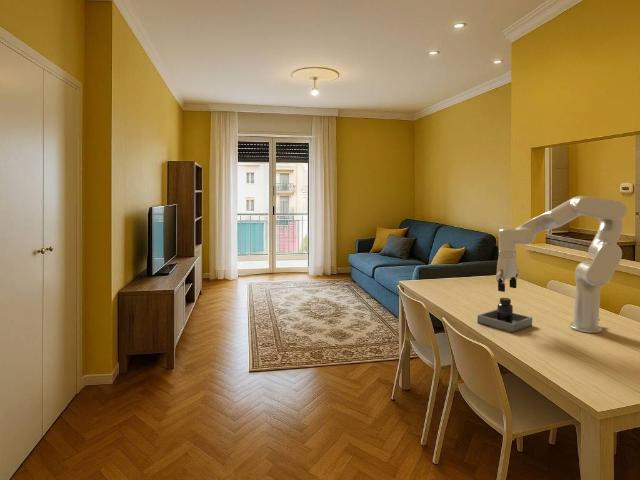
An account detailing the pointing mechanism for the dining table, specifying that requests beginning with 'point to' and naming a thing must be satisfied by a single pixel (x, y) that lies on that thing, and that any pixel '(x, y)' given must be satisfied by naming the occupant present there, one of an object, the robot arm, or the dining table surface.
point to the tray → (517, 323)
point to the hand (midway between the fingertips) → (507, 289)
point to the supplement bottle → (505, 310)
